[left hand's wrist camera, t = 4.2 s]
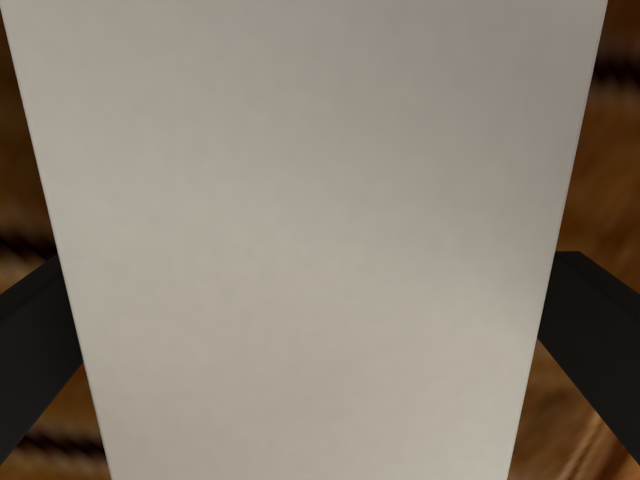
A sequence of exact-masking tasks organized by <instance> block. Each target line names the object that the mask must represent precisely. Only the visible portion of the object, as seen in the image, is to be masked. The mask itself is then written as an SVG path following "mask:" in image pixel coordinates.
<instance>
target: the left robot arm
mask: <svg viewBox="0 0 640 480" xmlns="http://www.w3.org/2000/svg"><path fill="white" fill-rule="evenodd" d="M537 338H538V339H539V340H540V342H541V343H542V344H543V345H544V347H545V348H546V349H547V350H548V352H549V353H550V354H551V355H552V357H553V358H554V359H555V360H556V362H557V363H558V364H559V365H560V367H561V368H562V369H563V370H564V372H565V373H566V374H567V375H568V377H569V378H570V379H571V380H572V382H573V383H574V384H575V385H576V387H577V388H578V389H579V390H580V392H581V393H582V394H583V395H584V397H585V398H586V399H587V400H588V402H589V403H590V404H591V405H592V407H593V408H594V409H595V410H596V412H597V413H598V414H599V415H600V417H601V418H602V419H603V420H604V422H605V423H606V424H607V425H608V427H609V428H610V429H611V430H612V432H613V433H614V434H615V435H616V437H617V438H618V439H619V440H620V442H621V443H622V444H623V445H624V447H625V448H626V449H627V450H628V452H629V453H630V454H631V456H632V457H633V458H634V459H635V461H636V462H637V463H638V464H639V466H640V294H638V293H637V292H635V291H634V290H633V289H631V288H630V287H628V286H627V285H626V284H624V283H623V282H621V281H620V280H619V279H617V278H616V277H614V276H613V275H612V274H610V273H609V272H607V271H606V270H605V269H603V268H602V267H600V266H599V265H598V264H596V263H595V262H593V261H592V260H591V259H589V258H588V257H586V256H585V255H584V254H582V253H581V252H579V251H555V254H554V258H553V263H552V268H551V272H550V277H549V282H548V287H547V291H546V296H545V301H544V306H543V310H542V315H541V320H540V325H539V329H538V334H537ZM83 362H84V361H83V357H82V352H81V348H80V344H79V340H78V335H77V331H76V327H75V323H74V318H73V314H72V310H71V306H70V301H69V297H68V293H67V289H66V284H65V280H64V276H63V272H62V267H61V263H60V259H59V255H58V254H56V255H55V256H54V257H52V258H51V259H49V260H48V261H47V262H45V263H44V264H42V265H41V266H40V267H38V268H37V269H35V270H34V271H33V272H31V273H30V274H28V275H27V276H26V277H24V278H23V279H21V280H20V281H19V282H17V283H16V284H14V285H13V286H12V287H10V288H9V289H7V290H6V291H5V292H3V293H2V294H0V466H1V464H2V463H3V462H4V461H5V459H6V458H7V457H8V456H9V454H10V453H11V452H12V450H13V449H14V448H15V447H16V445H17V444H18V443H19V442H20V440H21V439H22V438H23V437H24V435H25V434H26V433H27V432H28V430H29V429H30V428H31V427H32V425H33V424H34V423H35V422H36V420H37V419H38V418H39V417H40V415H41V414H42V413H43V412H44V410H45V409H46V408H47V407H48V405H49V404H50V403H51V402H52V400H53V399H54V398H55V397H56V395H57V394H58V393H59V392H60V390H61V389H62V388H63V387H64V385H65V384H66V383H67V382H68V380H69V379H70V378H71V377H72V375H73V374H74V373H75V372H76V370H77V369H78V368H79V367H80V365H81V364H82V363H83Z"/></svg>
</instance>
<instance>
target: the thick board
mask: <svg viewBox="0 0 640 480" xmlns="http://www.w3.org/2000/svg"><path fill="white" fill-rule="evenodd" d="M607 2H608V0H0V8H1V13H2V17H3V21H4V25H5V30H6V34H7V38H8V42H9V47H10V51H11V55H12V59H13V64H14V68H15V72H16V76H17V81H18V85H19V89H20V93H21V98H22V102H23V106H24V110H25V115H26V119H27V123H28V127H29V132H30V136H31V140H32V144H33V149H34V153H35V157H36V161H37V166H38V170H39V174H40V178H41V183H42V187H43V191H44V195H45V200H46V204H47V208H48V212H49V217H50V221H51V225H52V229H53V233H54V238H55V242H56V246H57V250H58V255H59V259H60V263H61V267H62V272H63V276H64V280H65V284H66V289H67V293H68V297H69V301H70V306H71V310H72V314H73V318H74V323H75V327H76V331H77V335H78V340H79V344H80V348H81V352H82V357H83V361H84V365H85V369H86V374H87V378H88V382H89V386H90V391H91V395H92V399H93V403H94V408H95V412H96V416H97V420H98V425H99V429H100V433H101V437H102V442H103V446H104V450H105V454H106V459H107V463H108V467H109V471H110V476H111V480H507V477H508V472H509V467H510V462H511V458H512V453H513V448H514V443H515V439H516V434H517V429H518V424H519V420H520V415H521V410H522V405H523V401H524V396H525V391H526V386H527V382H528V377H529V372H530V367H531V363H532V358H533V353H534V348H535V344H536V339H537V334H538V329H539V325H540V320H541V315H542V310H543V306H544V301H545V296H546V291H547V287H548V282H549V277H550V272H551V268H552V263H553V258H554V254H555V249H556V244H557V239H558V235H559V230H560V225H561V220H562V216H563V211H564V206H565V201H566V197H567V192H568V187H569V182H570V178H571V173H572V168H573V163H574V159H575V154H576V149H577V144H578V140H579V135H580V130H581V125H582V121H583V116H584V111H585V106H586V102H587V97H588V92H589V87H590V83H591V78H592V73H593V68H594V64H595V59H596V54H597V49H598V45H599V40H600V35H601V30H602V26H603V21H604V16H605V11H606V7H607Z"/></svg>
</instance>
